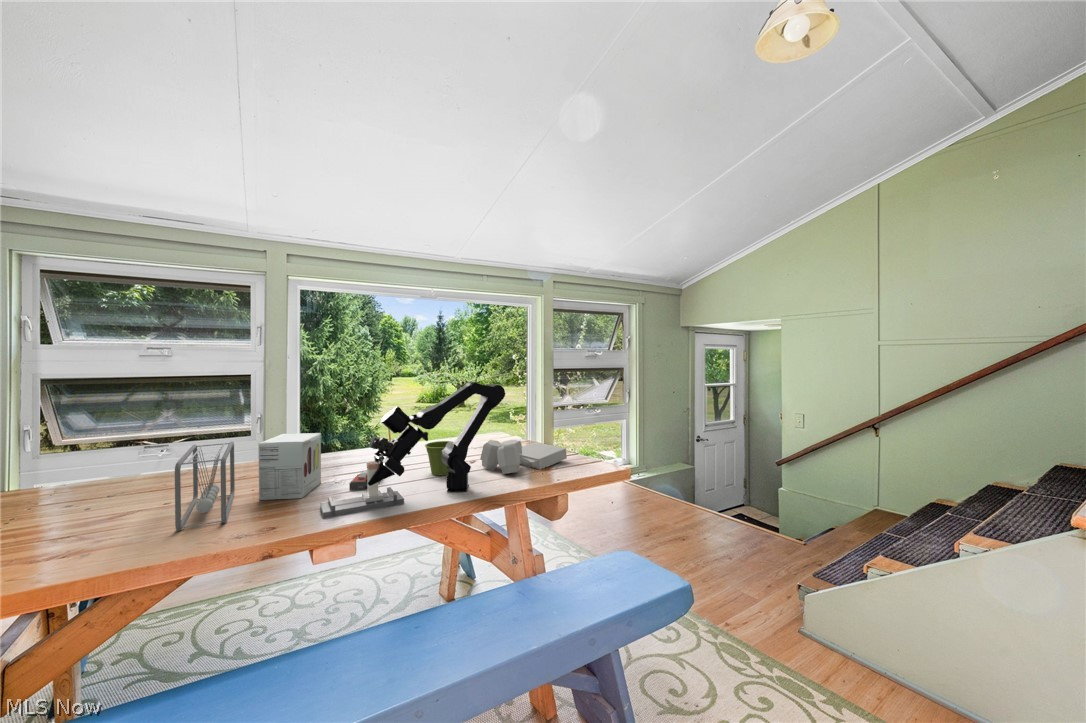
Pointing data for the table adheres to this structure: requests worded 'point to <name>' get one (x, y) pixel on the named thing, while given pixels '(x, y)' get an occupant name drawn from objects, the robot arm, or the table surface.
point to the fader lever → (372, 490)
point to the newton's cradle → (210, 490)
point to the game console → (520, 455)
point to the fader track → (359, 504)
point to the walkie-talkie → (359, 482)
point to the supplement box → (289, 465)
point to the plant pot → (437, 457)
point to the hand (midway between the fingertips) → (367, 483)
